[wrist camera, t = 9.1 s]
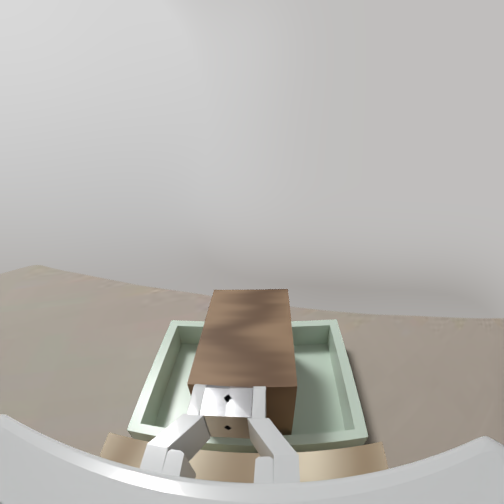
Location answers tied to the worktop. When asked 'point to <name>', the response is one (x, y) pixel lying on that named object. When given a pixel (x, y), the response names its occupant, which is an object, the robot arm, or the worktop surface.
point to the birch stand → (243, 464)
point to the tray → (307, 398)
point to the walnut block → (250, 349)
